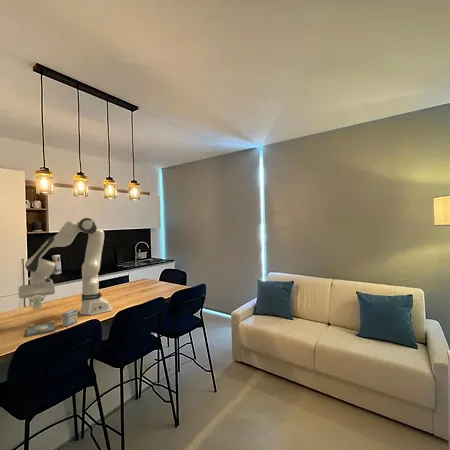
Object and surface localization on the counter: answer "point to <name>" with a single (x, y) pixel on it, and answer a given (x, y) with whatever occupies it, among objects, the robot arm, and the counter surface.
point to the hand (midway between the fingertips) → (36, 301)
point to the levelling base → (35, 332)
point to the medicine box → (69, 318)
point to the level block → (36, 301)
